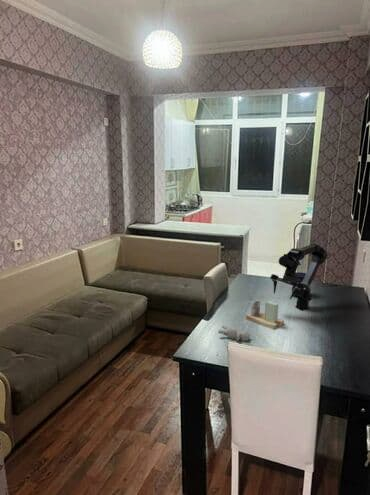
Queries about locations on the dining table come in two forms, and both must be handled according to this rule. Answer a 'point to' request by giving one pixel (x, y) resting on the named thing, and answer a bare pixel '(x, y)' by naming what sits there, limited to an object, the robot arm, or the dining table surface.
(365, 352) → the dining table surface
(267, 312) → the sage book
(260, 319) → the tan board with upright
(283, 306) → the dining table surface
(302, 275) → the storage jar
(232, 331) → the bunny figurine
